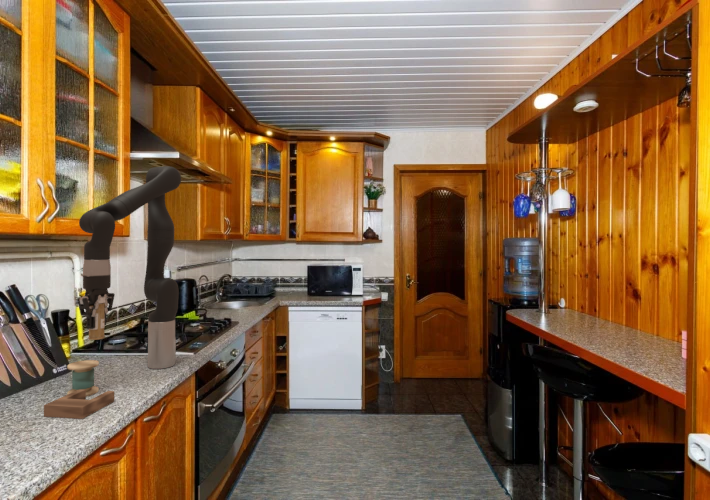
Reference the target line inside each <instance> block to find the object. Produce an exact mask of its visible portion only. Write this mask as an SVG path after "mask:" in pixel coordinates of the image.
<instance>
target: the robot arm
mask: <svg viewBox="0 0 710 500" xmlns="http://www.w3.org/2000/svg"><path fill="white" fill-rule="evenodd" d="M146 172H147V173H146V175H145V183H144V184H142V185H138V186H136V187H134V188H130V189H128V190H126V191H123V192H122V193H120V194H119V195H117V196H116V197H113V198H112V199H110V200H109V201H108V202H106V203H104V204H101V205H98V206H96V207H94V208H91V209H89V210H88V211H86V212H84V213H83V214H82V215H81V217H80V218H79V221H78V223H79V224H78V225H79V228H80V229H81V230H82V231H83V232H84V233H87V234H92V235H91V238H90V240H89V241H86V242H85V243H84V246H83V259H84V260H83V266H82V288H83V290H85V293H84V296H82V297H78V298H77V299H76V300H77V305H78V308H79V309H78V310H79V314H80V316H83V317H86V328H87V329H88V330H89V329H94V328H95V317H94V316H95V313H96V310H97V309H98V306H99V300H100V298H101V297H105V307H104V308H105V309H104V313H105V326H107V317H108V316H107V314H108V313H109V312H111V311H112V310H113V305H114V299H115V297H116V296H115V292H114V293H113V292H109V291H108V289H110V288H111V283H112V282H111V279H112V277H111V275H112V273H111V272H112V271H111V268H112V266H111V244H112V242H113V238H114V235H115V229H116V221H120V220H123V219H126V218H127V217H128V216H130V215H131V214H133V213H134V212H136V211H138V210H139V209H140V208H141V207H143V206H145V205H146V204H147V231H146V233H147V235H146V238H147V253H146V267H145V278H144V285H143V292H144V293H143V294H144V296H145V298H146V299H147V300H148V301H150V302H155V303H156V307H155V310H154V311H151V312H149V313H148V318H147V319H148V320H147V324H148V325H147V330H148V331H147V333H148V334H147V339H148V340H147V368H148V369H153V370H156V369H157V370H159V369H166V368H168V369H169V368H171V367H173V366H175V364H176V352H177V351H176V349H177V347H176V346H177V345H176V344H177V343H176V342H177V339H176V315H177V313H178V309H179V294H180V293H179V292H180V291H179V289H180V288H179V285H178V282H177V281H176V280H175V279H173V278H169V277H165V265H166V261H167V260H168V257H169V255H170V253H171V252H172V250H173V247H174V244H175V224H174V222H173V218H172V217H171V215H170V213H169V211H168V209H167V206H166V194H167V193H170V192H172V191H174V190H176V189H178V187H179V186H180V185H181V181H182V176H181V173H180V171H179V170H178V169H177V168H175V167H173V166H169V165H166V166H165V165H164V166H155V167H154V166H153V167H151V168H149V170H147V171H146ZM90 305H93V307H90ZM90 309H92V312H90Z"/></svg>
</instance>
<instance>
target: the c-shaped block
mask: <svg viewBox="0 0 710 500" xmlns="http://www.w3.org/2000/svg"><path fill="white" fill-rule="evenodd" d="M86 398H87V396H86V390H82V389H79V390H77V391H75V392H72V393H70V394H68V395H67V394H65V395H64V396H61V397H59V398H56V399H55V400H53V401H50V402H48V403H46V404H44V405H43V417H46V418H47V417H48V418H63V419H65V418H66V419H80V420H83V419H85V418H87V417H88V416H90V415H92V414H94V413H95V412H98V411H99V410H101V409H103V408H105V407H107V406H109V405H110V404H112V403H114V402H115V390H107V391H105V392H103V393H101V394H98V395H96V396H94V397H93V398H91V399H86Z"/></svg>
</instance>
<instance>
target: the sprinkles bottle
mask: <svg viewBox="0 0 710 500" xmlns="http://www.w3.org/2000/svg"><path fill="white" fill-rule="evenodd" d="M90 307H93V305H90ZM104 307H105V297H101V298H100V300H99V306H98V309H97V310H96V313H95V316H94V317H95V328H94V329H88V337H87V338H88V340H91V341H95V340H96V341H98V340H102V339H104V338H105V337H106V336H105V326H106V325H105V313H104V309H105V308H104ZM90 312H92V309H90Z"/></svg>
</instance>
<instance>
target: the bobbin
mask: <svg viewBox="0 0 710 500" xmlns="http://www.w3.org/2000/svg"><path fill="white" fill-rule="evenodd" d="M99 365H100V362H99V360H96V359H94V360H93V359H86V360H85V359H84V360H79V361H73V362H71V363H69V364H67V370H69V371H71V389H70V390H68V391H67V393H66V395H68V394H70V393H72V392H75V391H77V390H79V389H82V390H86V397H89V396H92V395H95V394H97V393H98V392H99V386H96V385H95V368H96V367H98V366H99Z"/></svg>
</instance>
